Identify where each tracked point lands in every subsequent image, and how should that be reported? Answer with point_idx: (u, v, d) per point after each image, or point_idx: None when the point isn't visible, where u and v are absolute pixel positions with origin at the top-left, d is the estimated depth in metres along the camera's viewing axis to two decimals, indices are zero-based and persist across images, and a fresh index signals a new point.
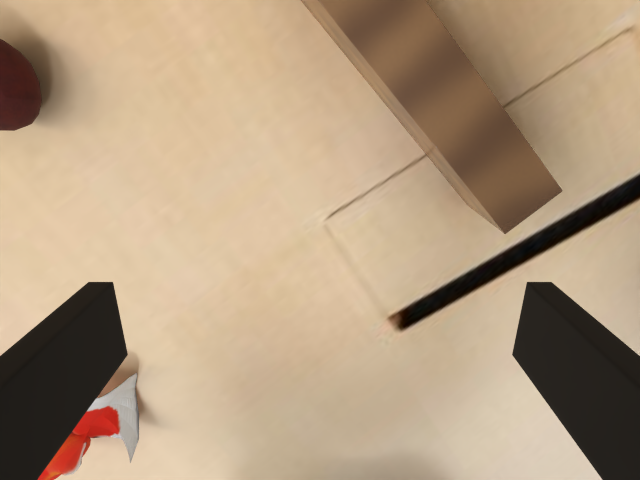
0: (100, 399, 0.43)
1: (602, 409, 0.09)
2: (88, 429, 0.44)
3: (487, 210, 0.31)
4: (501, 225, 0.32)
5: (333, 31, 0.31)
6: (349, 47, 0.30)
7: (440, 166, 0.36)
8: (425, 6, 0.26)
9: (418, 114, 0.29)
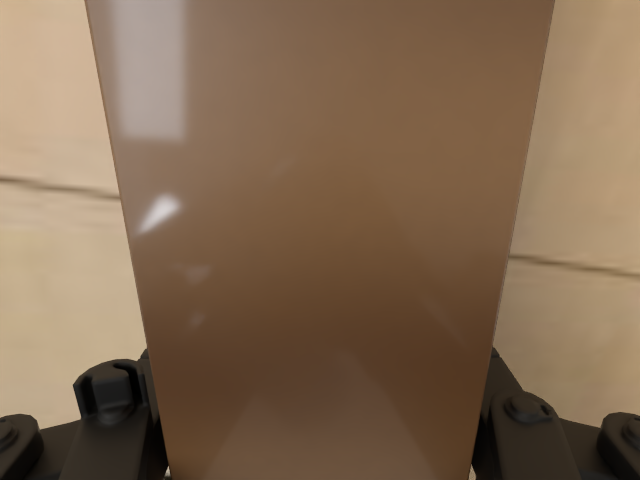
0: None
1: None
2: None
3: None
4: None
5: None
6: None
7: None
8: None
9: (127, 1, 0.04)
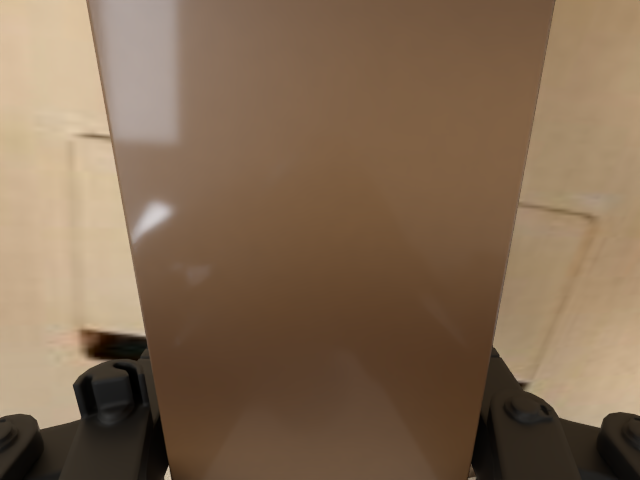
0: None
1: None
2: None
3: None
4: None
5: None
6: None
7: None
8: None
9: (128, 0, 0.04)
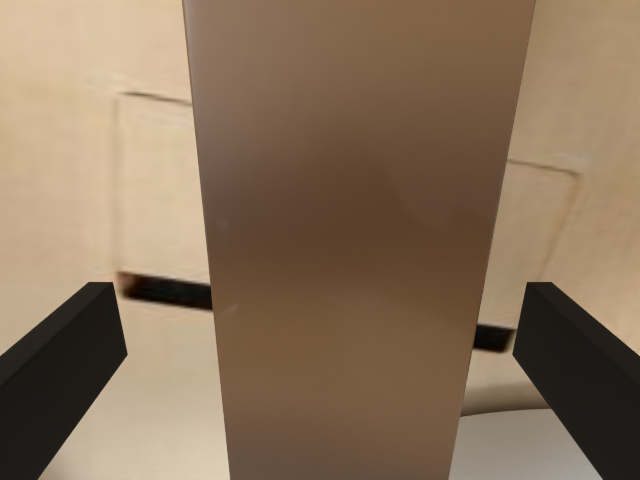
0: None
1: (602, 410, 0.09)
2: None
3: (225, 401, 0.09)
4: (235, 462, 0.09)
5: None
6: None
7: None
8: None
9: None
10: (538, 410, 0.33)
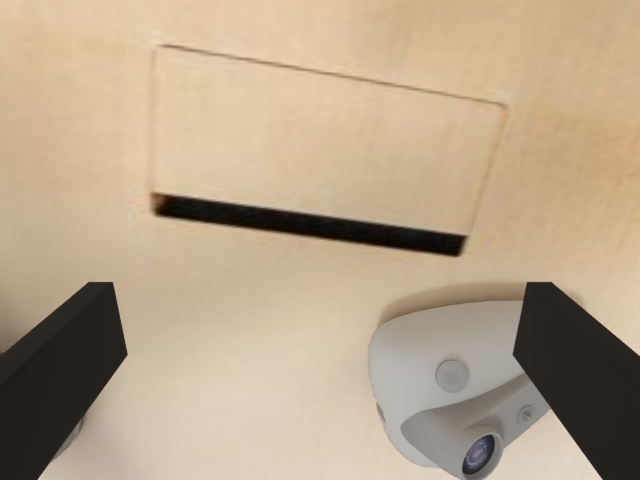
0: None
1: (602, 410, 0.09)
2: None
3: None
4: None
5: None
6: None
7: None
8: None
9: None
10: (486, 301, 0.42)
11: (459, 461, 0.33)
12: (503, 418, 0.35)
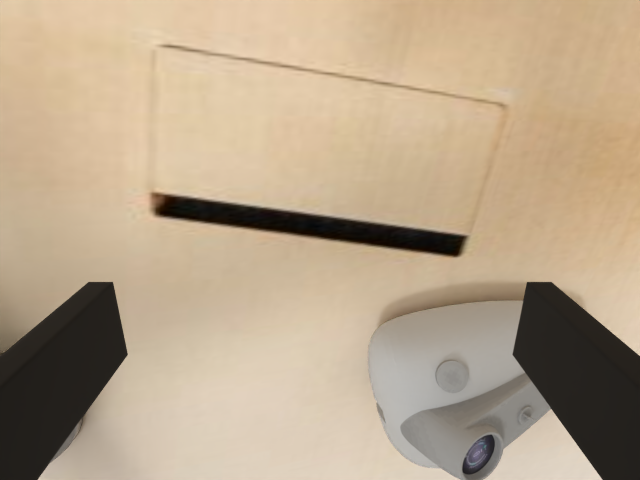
0: None
1: (602, 410, 0.09)
2: None
3: None
4: None
5: None
6: None
7: None
8: None
9: None
10: (486, 301, 0.42)
11: (459, 461, 0.33)
12: (503, 418, 0.35)
